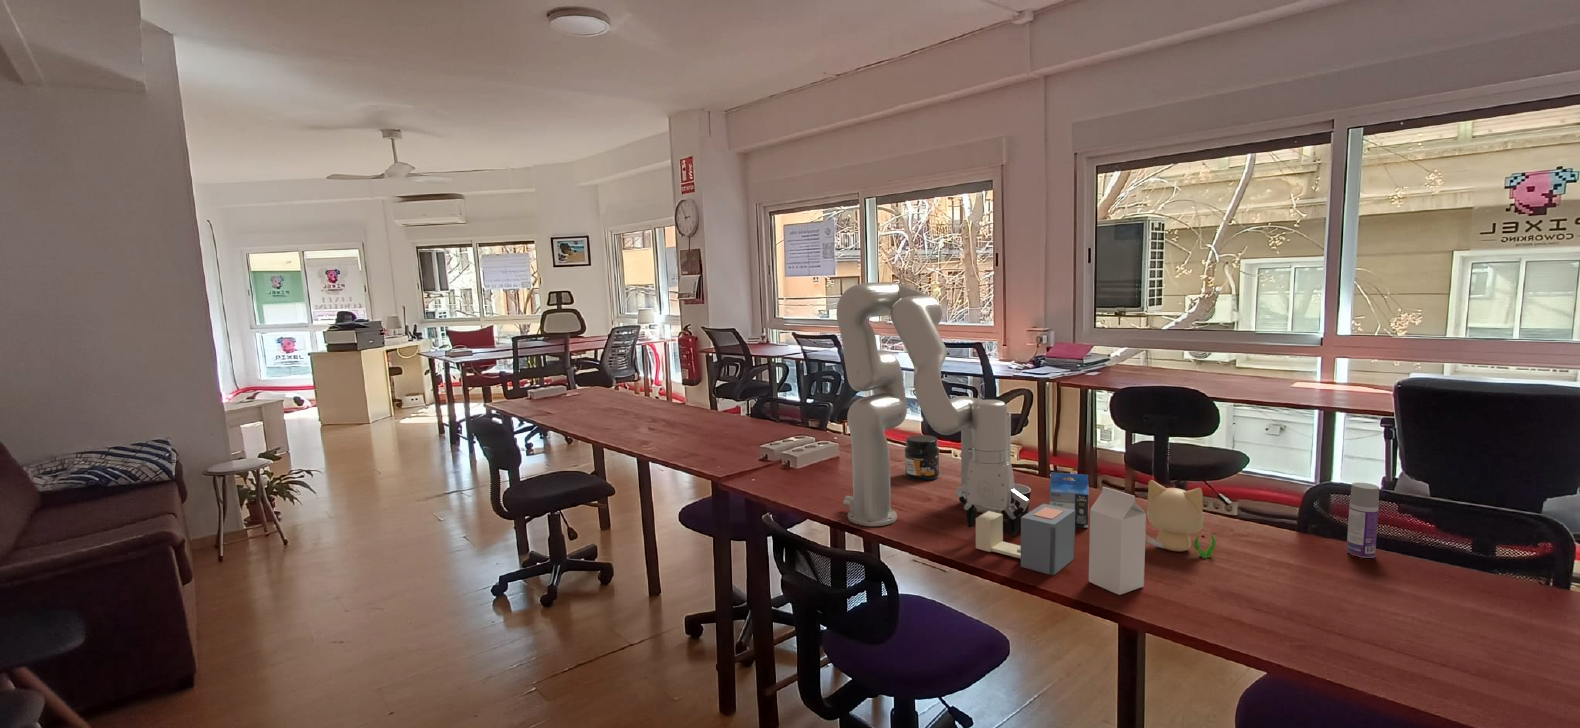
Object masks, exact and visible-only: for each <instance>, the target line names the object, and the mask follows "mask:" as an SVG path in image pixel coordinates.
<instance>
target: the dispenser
mask: <svg viewBox="0 0 1580 728" xmlns="http://www.w3.org/2000/svg"><path fill="white" fill-rule="evenodd" d="M1075 542H1076V527H1075V510H1072V509H1067V508H1062V507H1057V506H1053V505H1049V503H1048V504H1047V503H1042V504H1040V505H1039V506H1037V507H1035V508H1033V509H1032V510H1029V511H1028V513H1027V514H1026V515H1024V516H1022V517H1021V533H1020V546H1021V547H1020V548H1019V549H1017V552H1018V553H1021V559H1020V568H1025V569H1029V570H1032V571H1035V572H1038V573H1039V572H1040V573H1043V574H1046V575H1048V576H1049V575H1051V576H1052V577H1053V576H1055V575H1056V574H1057V573H1058V572H1060V571H1061V570H1062V569H1063V568H1064V567H1067V565H1068V564H1069V563H1071V562H1073V560H1074V559H1075V556H1076V555H1075V554H1076V553H1075V548H1076V547H1075V544H1076V543H1075Z"/></svg>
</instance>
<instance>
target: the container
mask: <svg viewBox="0 0 1580 728" xmlns="http://www.w3.org/2000/svg"><path fill="white" fill-rule="evenodd" d="M1349 498H1350V499H1349V506H1348V507H1349V508H1348V523H1347V525H1348V526H1347V537H1346V550H1347V551H1348V552H1349V553H1351V554H1354V555H1358V556H1359V557H1363V558H1373V559H1375V558H1374V557H1376V547H1377V535H1378V533H1377V532H1378V522H1379V504H1380V503H1379V501H1380V486H1378V485H1377V484H1376V485H1375V484H1372V483H1368V482H1367V483H1366V482H1353V483H1351V488H1350V497H1349Z"/></svg>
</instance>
